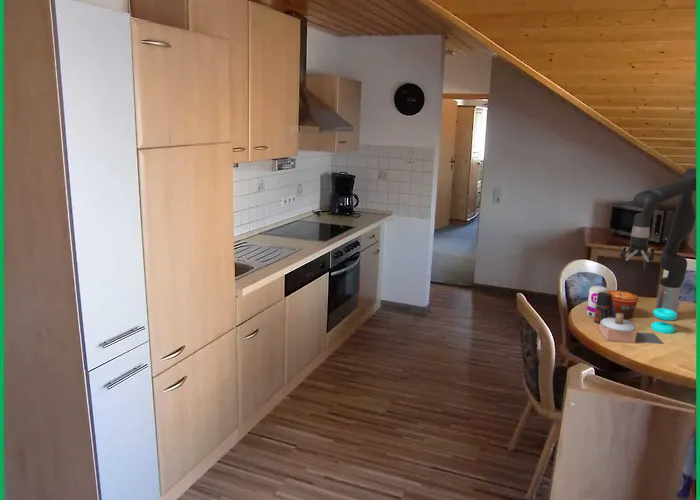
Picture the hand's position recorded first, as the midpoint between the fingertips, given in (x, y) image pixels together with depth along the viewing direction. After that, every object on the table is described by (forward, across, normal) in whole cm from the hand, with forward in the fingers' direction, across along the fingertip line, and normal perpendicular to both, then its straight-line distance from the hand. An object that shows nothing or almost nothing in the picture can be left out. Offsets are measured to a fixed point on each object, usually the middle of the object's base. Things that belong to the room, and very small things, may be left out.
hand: (635, 268), depth 264 cm
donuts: (+28, -14, +7) cm, 32 cm away
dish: (+28, +11, +21) cm, 37 cm away
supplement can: (+28, +13, -7) cm, 32 cm away
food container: (+28, 0, -12) cm, 31 cm away
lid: (+22, +11, +21) cm, 32 cm away
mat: (+28, -2, +19) cm, 34 cm away
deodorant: (+28, +13, +3) cm, 31 cm away
